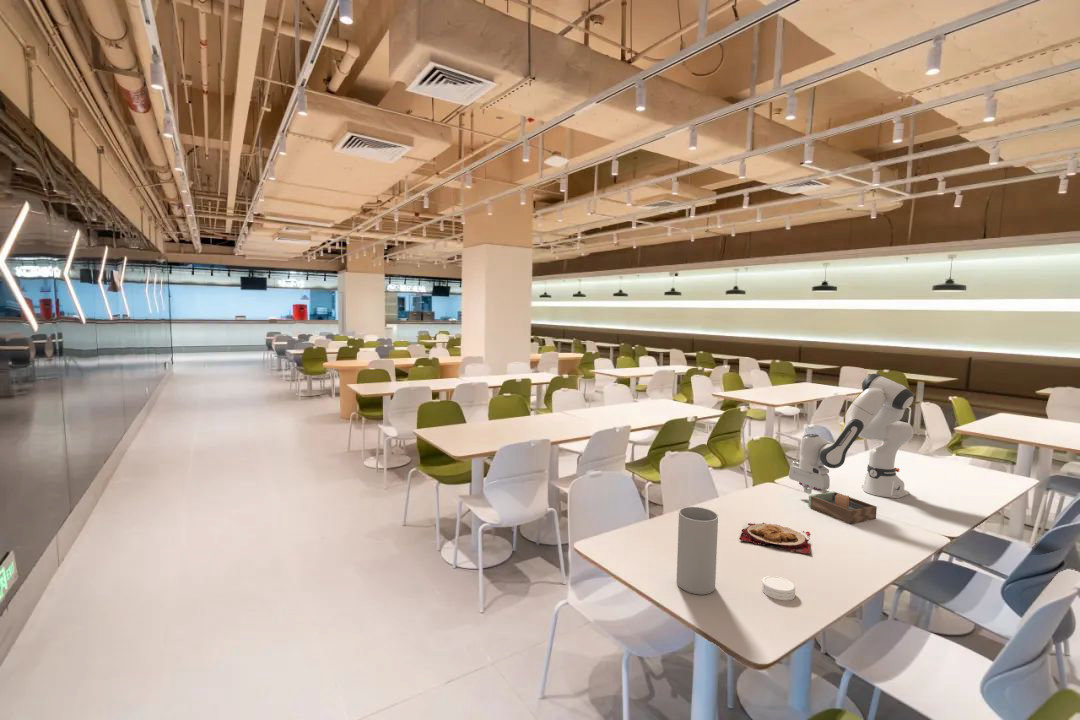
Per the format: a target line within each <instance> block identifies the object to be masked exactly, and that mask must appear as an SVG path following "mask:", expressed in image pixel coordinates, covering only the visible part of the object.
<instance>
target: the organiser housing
mask: <svg viewBox="0 0 1080 720" xmlns="http://www.w3.org/2000/svg"><path fill="white" fill-rule="evenodd" d="M835 492H836V493H835V496H836V495H837V494H841V493H840V492H838V491H835ZM849 501H852V502H854V503H857V504H860V505H863V506H865V507H864V508H859V509H854V510H849V509H846V508H843V507H841V506H838V505H836V504H833V503H830V502H828V501H825V500H822V499H820V498H817V497H814V496H812V498H811V508H810V509H811V510H814V511H816V512H819V513H821V514H823V515H826V516H829V517H831V518H833V519H836V520H837V521H838V520H839V521H841V522H843V523H845V524H847V525H848V524H849V525H853V524H854V525H855V524H859V523H865V522H870V521H875V520H877V509H878V506H876V505H874V504H870V503H867V502H866V501H863V500H860V499H856V498H853V497H851V496H849Z"/></svg>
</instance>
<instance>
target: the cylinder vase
mask: <svg viewBox="0 0 1080 720" xmlns="http://www.w3.org/2000/svg"><path fill="white" fill-rule="evenodd" d="M677 523H678V527H677V528H678V529H677V552H676V553H677V558H676V584H677V585H678V587H679V588H680V589H681V590H683V591H685V592H687V593H690V594H694V595H699V596H700V595H703V596H704V595H710V594H711V593H713V592H714V591H715V589H716V582H717V581H716V580H717V579H716V578H717V577H716V576H717V556H718V555H717V553H718V552H717V549H718V527H719V514H717V513H716V512H715V511H713V510H711V509H708V508H704V507H699V506H686V507H683V508H680V509H679V510H678V522H677Z"/></svg>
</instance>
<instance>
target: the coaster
mask: <svg viewBox="0 0 1080 720" xmlns="http://www.w3.org/2000/svg"><path fill="white" fill-rule="evenodd" d="M761 591H762V592H763V593H764V594H765V596H768V597H769V598H771V599H773V600H777V601H791V600H793V599H795V597H796V586H795V584H794V583H793V582H792V581H790V580H789V579H786V578H784V577H781V576H776V575H767V576H765V577H763V578H762V579H761Z"/></svg>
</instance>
